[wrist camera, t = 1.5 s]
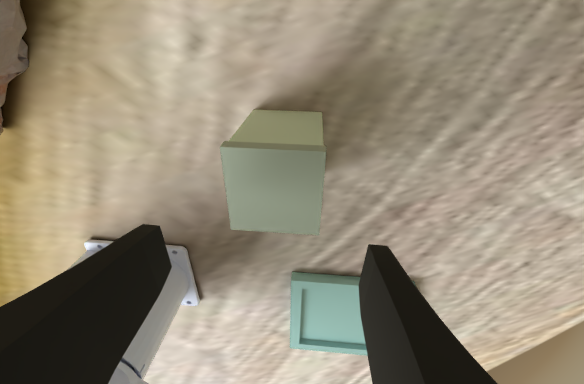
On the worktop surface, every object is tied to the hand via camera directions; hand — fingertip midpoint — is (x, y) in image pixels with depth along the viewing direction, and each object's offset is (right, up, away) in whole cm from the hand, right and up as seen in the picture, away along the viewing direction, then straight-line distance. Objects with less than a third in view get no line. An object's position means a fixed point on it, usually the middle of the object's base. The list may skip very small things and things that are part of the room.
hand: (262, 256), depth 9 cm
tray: (+6, -10, +18) cm, 22 cm away
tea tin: (+1, +6, +9) cm, 11 cm away
